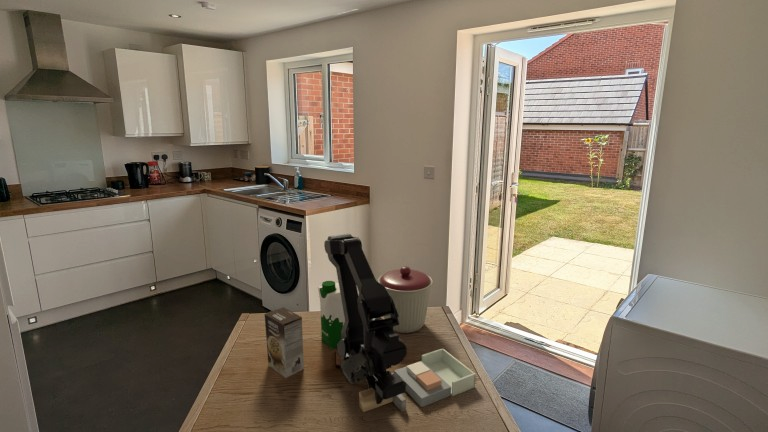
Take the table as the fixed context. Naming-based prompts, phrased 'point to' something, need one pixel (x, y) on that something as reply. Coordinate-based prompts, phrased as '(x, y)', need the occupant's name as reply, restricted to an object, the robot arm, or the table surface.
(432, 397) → the grey stepped riser
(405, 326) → the canister
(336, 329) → the milk carton
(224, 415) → the table surface
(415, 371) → the tile cream
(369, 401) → the scraper
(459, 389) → the tray
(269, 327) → the coffee box
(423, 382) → the tile terracotta
